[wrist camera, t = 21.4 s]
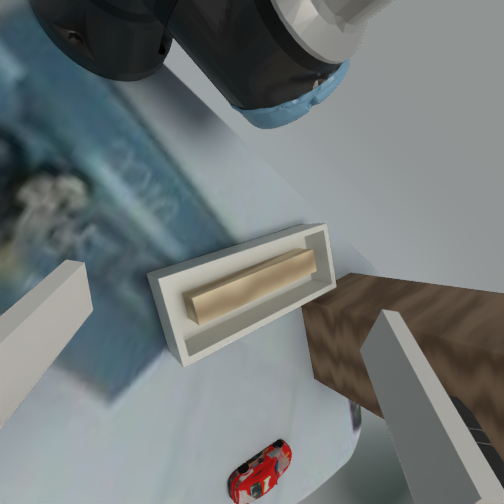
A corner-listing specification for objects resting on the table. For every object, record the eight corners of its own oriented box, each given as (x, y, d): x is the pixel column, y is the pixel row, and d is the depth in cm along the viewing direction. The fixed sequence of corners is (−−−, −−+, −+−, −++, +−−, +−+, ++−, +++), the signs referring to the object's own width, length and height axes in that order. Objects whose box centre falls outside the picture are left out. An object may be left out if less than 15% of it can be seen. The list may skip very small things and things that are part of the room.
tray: (146, 273, 38) (158, 279, 33) (302, 224, 53) (326, 223, 48) (169, 351, 40) (183, 367, 35) (312, 282, 56) (336, 286, 51)
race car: (284, 432, 54) (298, 445, 51) (286, 457, 55) (300, 471, 51) (225, 472, 47) (237, 490, 44) (228, 500, 48) (240, 520, 44)
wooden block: (299, 298, 54) (606, 383, 23) (350, 272, 62) (626, 309, 32) (314, 378, 58) (597, 544, 27) (361, 344, 66) (617, 440, 35)
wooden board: (181, 293, 40) (191, 298, 36) (297, 248, 52) (312, 249, 48) (188, 318, 40) (199, 325, 37) (300, 268, 52) (316, 270, 49)
